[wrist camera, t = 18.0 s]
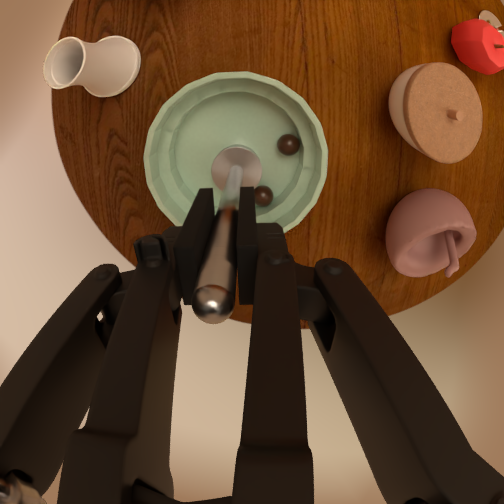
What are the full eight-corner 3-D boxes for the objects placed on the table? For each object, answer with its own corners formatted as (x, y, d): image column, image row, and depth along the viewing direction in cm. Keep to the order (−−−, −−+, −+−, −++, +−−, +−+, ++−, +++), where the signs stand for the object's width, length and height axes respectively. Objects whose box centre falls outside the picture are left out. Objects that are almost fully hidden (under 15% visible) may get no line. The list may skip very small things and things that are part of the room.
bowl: (155, 84, 26) (136, 83, 21) (315, 78, 26) (330, 74, 21) (170, 223, 35) (158, 248, 30) (309, 220, 35) (320, 244, 30)
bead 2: (274, 131, 28) (291, 129, 26) (289, 139, 30) (305, 137, 28) (270, 152, 28) (287, 151, 27) (285, 159, 30) (302, 158, 28)
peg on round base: (235, 134, 29) (194, 196, 7) (270, 166, 30) (331, 310, 8) (204, 169, 30) (105, 314, 8) (239, 199, 32) (223, 387, 10)
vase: (81, 98, 25) (29, 107, 17) (89, 40, 22) (39, 31, 13) (136, 96, 26) (93, 100, 18) (145, 35, 22) (106, 16, 14)
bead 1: (269, 184, 29) (267, 207, 30) (277, 186, 32) (275, 207, 32) (248, 183, 30) (247, 205, 31) (257, 185, 32) (256, 206, 33)
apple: (488, 52, 20) (526, 55, 14) (469, 84, 24) (509, 91, 17) (455, 10, 18) (492, 4, 11) (434, 40, 22) (474, 36, 15)
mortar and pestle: (365, 256, 38) (397, 312, 28) (376, 173, 31) (425, 211, 22) (432, 252, 37) (471, 298, 28) (448, 178, 31) (501, 213, 22)
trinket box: (449, 81, 24) (498, 87, 16) (436, 155, 30) (481, 179, 22) (379, 52, 24) (423, 44, 16) (367, 136, 29) (407, 154, 21)
